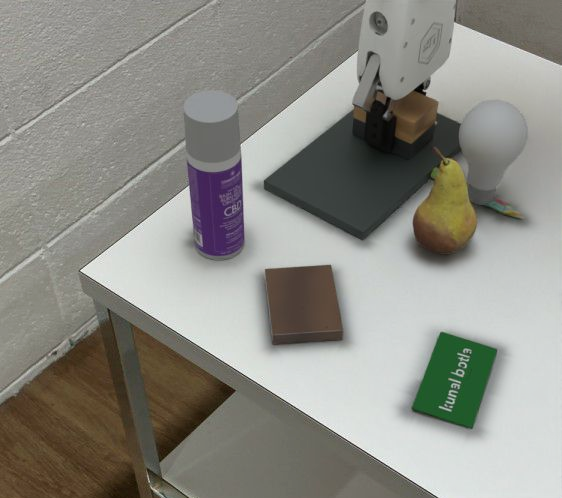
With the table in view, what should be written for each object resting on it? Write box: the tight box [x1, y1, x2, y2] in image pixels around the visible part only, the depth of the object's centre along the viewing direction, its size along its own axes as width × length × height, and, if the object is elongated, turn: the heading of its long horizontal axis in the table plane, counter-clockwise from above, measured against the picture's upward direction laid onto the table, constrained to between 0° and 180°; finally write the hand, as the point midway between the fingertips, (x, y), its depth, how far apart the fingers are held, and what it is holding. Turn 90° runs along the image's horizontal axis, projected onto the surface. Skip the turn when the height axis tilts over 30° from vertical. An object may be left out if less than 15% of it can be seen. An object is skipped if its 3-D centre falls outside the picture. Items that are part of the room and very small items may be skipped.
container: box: [182, 89, 246, 261], centre depth 82 cm, size 5×5×15 cm
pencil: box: [430, 167, 525, 220], centre depth 93 cm, size 1×1×18 cm
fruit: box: [412, 146, 478, 255], centre depth 83 cm, size 6×6×12 cm
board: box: [263, 108, 462, 241], centre depth 95 cm, size 20×12×1 cm, turn 141°
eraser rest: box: [264, 264, 344, 345], centre depth 82 cm, size 6×8×1 cm
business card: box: [411, 331, 498, 429], centre depth 78 cm, size 9×1×5 cm
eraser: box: [352, 91, 439, 160], centre depth 95 cm, size 4×7×4 cm, turn 52°
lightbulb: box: [459, 99, 529, 206], centre depth 87 cm, size 6×6×11 cm
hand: (393, 131), depth 96 cm, fingers closed on eraser, 4 cm apart
